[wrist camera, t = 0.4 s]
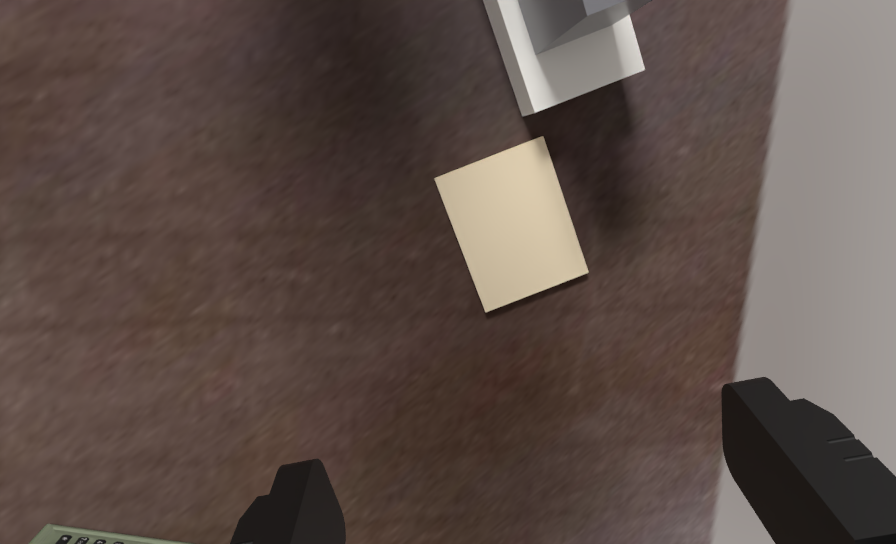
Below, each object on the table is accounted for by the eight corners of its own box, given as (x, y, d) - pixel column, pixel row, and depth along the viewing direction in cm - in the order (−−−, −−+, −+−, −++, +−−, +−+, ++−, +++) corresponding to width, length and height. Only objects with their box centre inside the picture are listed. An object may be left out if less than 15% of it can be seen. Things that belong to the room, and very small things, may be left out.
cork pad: (434, 178, 35) (434, 178, 34) (541, 136, 35) (543, 136, 34) (484, 309, 37) (485, 312, 36) (585, 270, 37) (588, 272, 36)
